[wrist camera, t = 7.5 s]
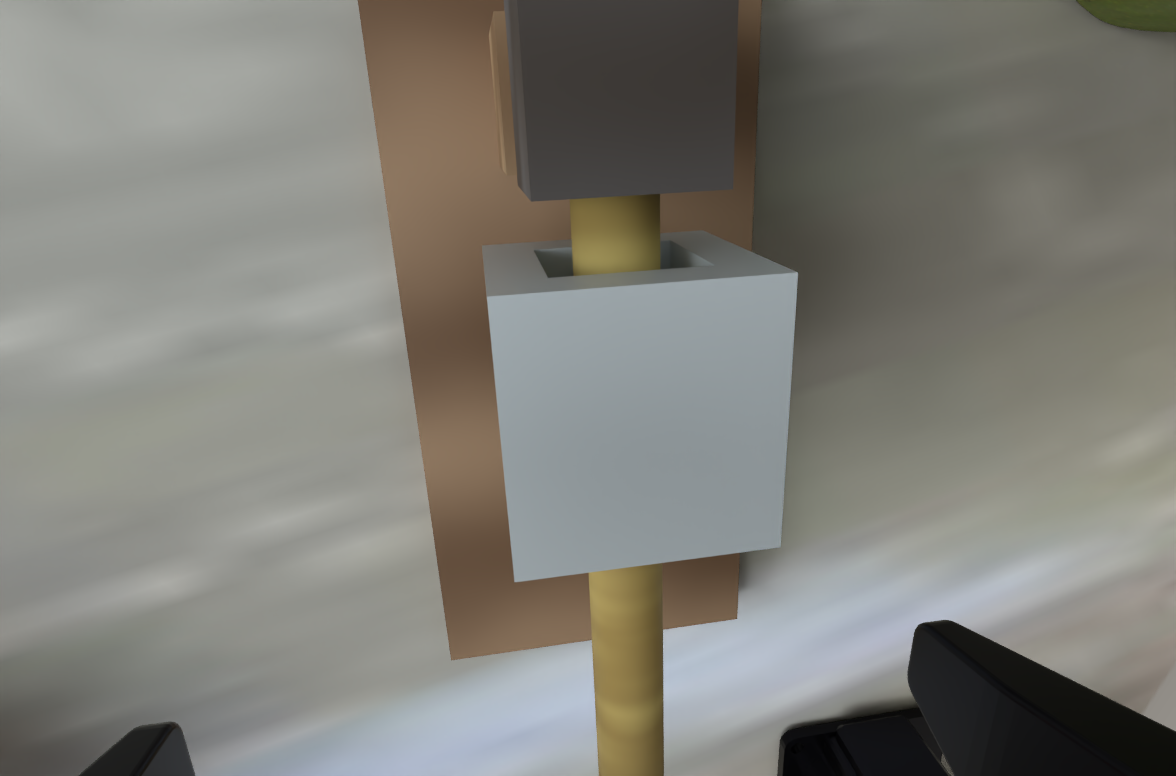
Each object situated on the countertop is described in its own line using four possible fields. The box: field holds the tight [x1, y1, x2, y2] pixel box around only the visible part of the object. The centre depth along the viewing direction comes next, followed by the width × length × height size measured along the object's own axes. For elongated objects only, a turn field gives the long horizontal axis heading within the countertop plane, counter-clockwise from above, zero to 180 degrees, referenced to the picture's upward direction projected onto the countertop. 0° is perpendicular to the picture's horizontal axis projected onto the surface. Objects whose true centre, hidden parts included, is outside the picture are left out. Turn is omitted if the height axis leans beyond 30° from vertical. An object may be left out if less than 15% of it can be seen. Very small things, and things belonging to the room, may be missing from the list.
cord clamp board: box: [358, 0, 762, 776], centre depth 16 cm, size 18×9×8 cm, turn 2°
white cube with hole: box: [482, 230, 798, 582], centre depth 14 cm, size 5×5×5 cm
